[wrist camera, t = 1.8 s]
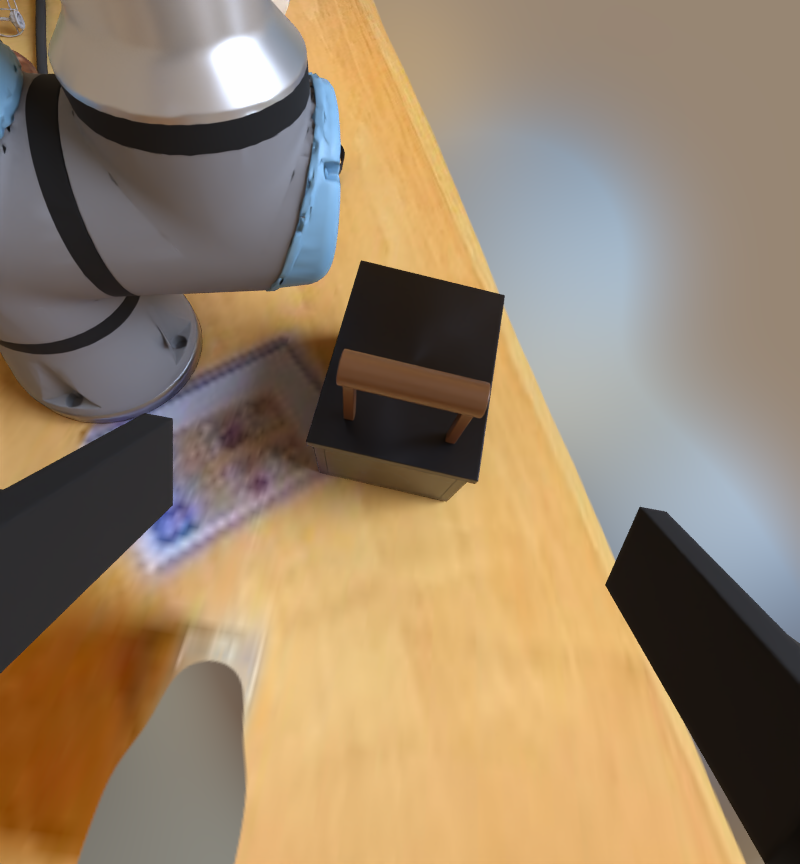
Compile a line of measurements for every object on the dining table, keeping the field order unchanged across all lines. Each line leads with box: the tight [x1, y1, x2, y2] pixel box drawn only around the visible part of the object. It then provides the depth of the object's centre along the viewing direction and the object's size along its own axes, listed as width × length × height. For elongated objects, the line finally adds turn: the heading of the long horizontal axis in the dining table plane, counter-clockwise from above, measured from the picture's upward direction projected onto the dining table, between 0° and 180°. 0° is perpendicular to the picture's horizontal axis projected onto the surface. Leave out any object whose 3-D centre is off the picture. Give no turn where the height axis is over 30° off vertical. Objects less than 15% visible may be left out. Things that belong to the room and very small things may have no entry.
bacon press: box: [306, 261, 505, 484], centre depth 29 cm, size 15×12×8 cm
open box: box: [314, 447, 467, 501], centre depth 37 cm, size 15×12×10 cm
